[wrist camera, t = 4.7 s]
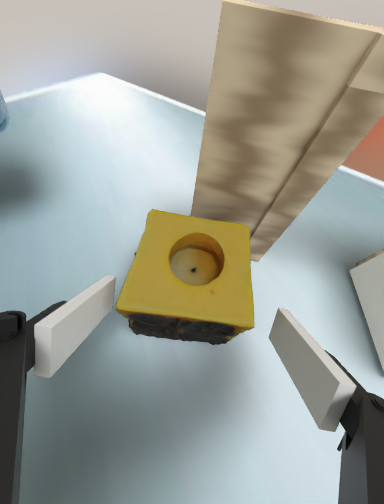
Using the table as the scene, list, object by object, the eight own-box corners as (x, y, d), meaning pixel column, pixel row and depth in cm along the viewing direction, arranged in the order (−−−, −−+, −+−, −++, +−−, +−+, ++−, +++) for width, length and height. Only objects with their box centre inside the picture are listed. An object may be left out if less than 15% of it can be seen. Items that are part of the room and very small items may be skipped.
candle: (132, 334, 21) (108, 312, 12) (153, 257, 26) (146, 206, 18) (221, 347, 21) (257, 335, 13) (224, 269, 27) (250, 223, 18)
